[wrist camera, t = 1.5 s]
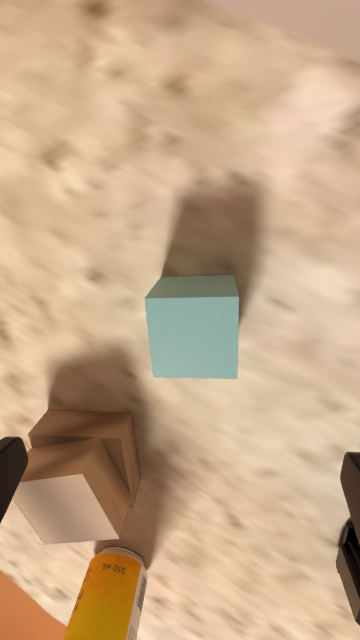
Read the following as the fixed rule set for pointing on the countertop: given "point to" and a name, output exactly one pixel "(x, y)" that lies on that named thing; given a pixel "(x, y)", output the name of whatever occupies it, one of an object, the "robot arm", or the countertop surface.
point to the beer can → (109, 598)
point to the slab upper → (73, 493)
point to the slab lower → (91, 425)
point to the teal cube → (194, 326)
